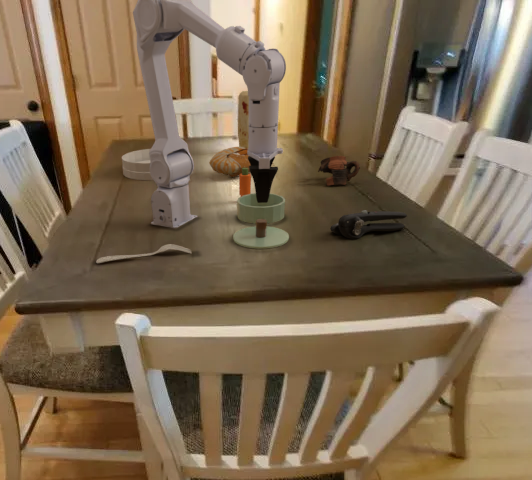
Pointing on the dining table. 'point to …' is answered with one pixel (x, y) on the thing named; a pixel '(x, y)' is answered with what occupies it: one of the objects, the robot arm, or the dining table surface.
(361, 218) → the can opener
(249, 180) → the carrot
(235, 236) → the lid
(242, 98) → the food model
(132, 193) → the dining table surface
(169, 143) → the robot arm
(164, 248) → the fork
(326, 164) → the pottery mug
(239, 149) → the nautilus
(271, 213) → the pot
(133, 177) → the dish
